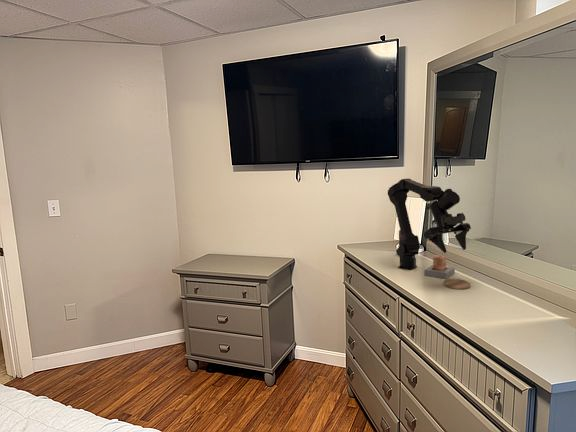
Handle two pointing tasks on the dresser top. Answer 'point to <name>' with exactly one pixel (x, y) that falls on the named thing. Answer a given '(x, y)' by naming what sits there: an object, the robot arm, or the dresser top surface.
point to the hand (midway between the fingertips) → (455, 251)
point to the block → (439, 263)
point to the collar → (439, 272)
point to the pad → (456, 284)
